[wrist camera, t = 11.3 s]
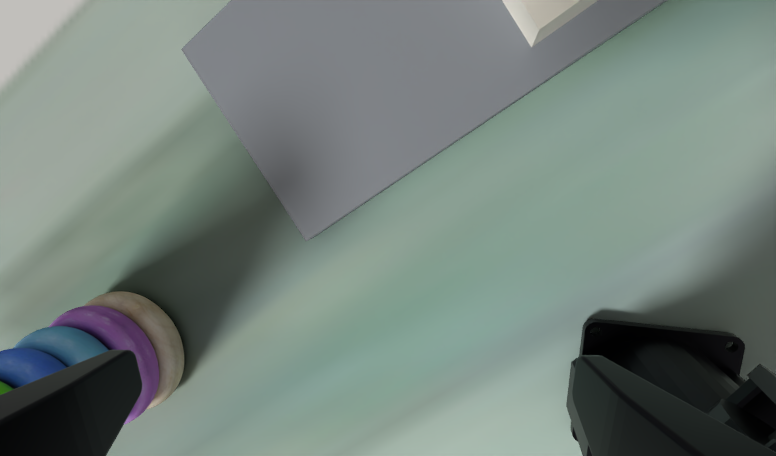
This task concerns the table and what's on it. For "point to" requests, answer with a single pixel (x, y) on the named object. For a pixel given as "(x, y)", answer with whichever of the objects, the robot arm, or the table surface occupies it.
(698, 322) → the table surface
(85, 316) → the stacking toy
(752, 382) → the robot arm
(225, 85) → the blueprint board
